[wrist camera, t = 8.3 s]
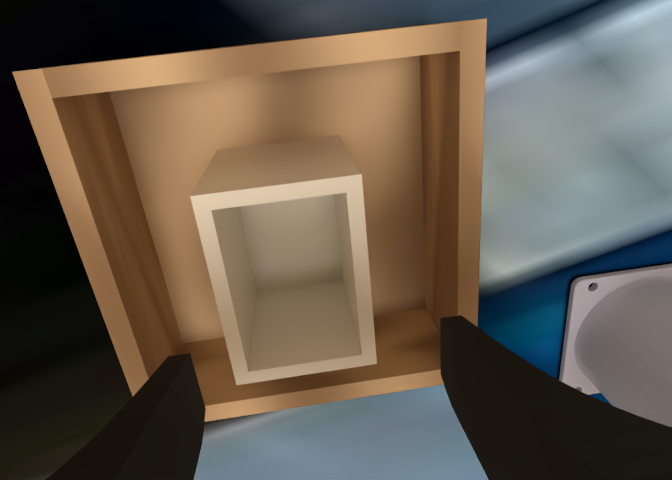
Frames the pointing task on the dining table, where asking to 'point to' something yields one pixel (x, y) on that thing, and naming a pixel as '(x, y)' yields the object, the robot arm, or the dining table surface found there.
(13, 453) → the dining table surface
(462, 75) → the big crate
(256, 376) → the small crate
